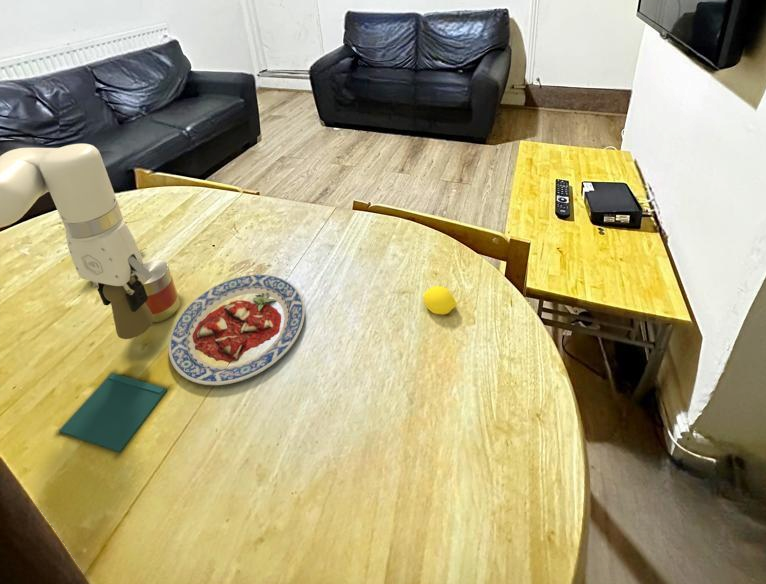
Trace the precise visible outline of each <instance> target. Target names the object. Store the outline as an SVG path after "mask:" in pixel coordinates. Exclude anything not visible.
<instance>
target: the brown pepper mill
mask: <svg viewBox="0 0 766 584" xmlns="http://www.w3.org/2000/svg"><path fill="white" fill-rule="evenodd" d="M135 281H136V280H135V279H134V277H132V278H131V279H130V280H129V283H130V284H131V285H132V284H133V283H134V282H135ZM103 294H104V296H105V298H106V299H107V300H108V301H110V302H111V303H110V306H111V311H112V317H113V321H114V322H113V323H114V327H115V331H116V335H117V337H118V338H120V339H123V340H131V339H134V338H137V337H139V336H141V335H143V334H144V333H145V332H146V331H148V330H149V329H150V327H151V326H152V325H153V323H154V322H153V321H154V317H153V315H152V313H151V311H150V310H149V308H148V306H147V305H146V303H144V304H143V305H142V306H141V307H140V308H139V309H138V310H137V311H136V312H132V311H131V309H130V306H129V304H128V301H127V299H126V296H125V295H126V294H127V292H126V290H125V289H124V287H123V286H113V285H107V284H104V287H103Z"/></svg>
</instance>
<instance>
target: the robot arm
mask: <svg viewBox="0 0 766 584" xmlns="http://www.w3.org/2000/svg"><path fill="white" fill-rule="evenodd" d="M46 193H49V194H50V197H51V199H52V201H53V203H54V206H55V208H56V210H57V213H58V215H59V217H60V220H61V222H62V224H63V227H64V229H65V238H66V243H67V247H68V251H69V254H70V257H71V260H72V263H73V265H74V268H75V271H76V273H77V275H78V276H79V277H80V278H81V279H83V280H86V281H90V282H92V286H93V287H95V288H96V289H97V292H98V294H99V297H100V299H101V302H102V304H103V306H109V305H111V302H110V301H108V300H107V299H106V298H105V296H104V294H103V287H104V284H107V285H113V286H123V287H124V289H125V290H126V292H127V294H126V295H125V296H126V299H127V301H128V304H129V306H130V309H131V311H132V312H136V311H137V310H138V309H139V308H140V307H141V306H142V305H143V304H144V303H145V302H146V301H147V299H148V297H147V294H146V291H145V288H144V285H143V284H144V283H145V282H147V281H148V280H149V279H150V278H151V277H152V274H151V273H150V272H149V271H148V270H147V269H146V268H145V267H144V265H143V264H144V260H143V257H142V254H141V251H140V249H139V246H138V244H137V242H136V239H135V238H134V235H133V234H132V232H131V230H130V228H129V227H128V225H127V223H126V222H125V221H124V216H123V213H122V211H121V208H120V204H119V202H118V198H117V197H116V194H115V191H114V188H113V186H112V183H111V180H110V177H109V175H108V171H107V169H106V166H105V162H104V161H103V157H102V154H101V152H100V150H99V149H98V148H97V147H95V145H93V144H89V143H73V144H67V145H64V146H61V147H19V148H15V149H10V150H8V151H6V152H4V153H3V154H1V155H0V228H4V227H8V226H11V225H12V224H14V223H16V222H17V221H19V220H20V219H22V218H23V217H24V215H25V214H27V213H28V211H29V210H30V209H31V208H32V207H33V206H34V204H36V202H37V200H38V199H39V198H41V197H42V196H44V195H46ZM132 277H134V279H135V280H136V281H135V282H134V283H133V284H132V285H131V284H130V283H129V280H130V279H131V278H132Z"/></svg>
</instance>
